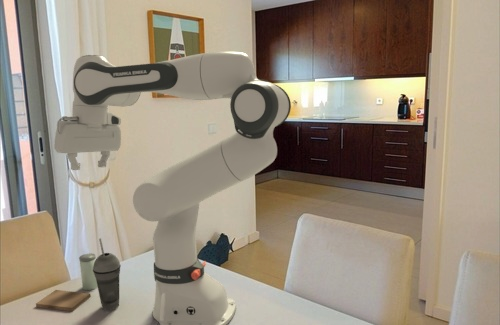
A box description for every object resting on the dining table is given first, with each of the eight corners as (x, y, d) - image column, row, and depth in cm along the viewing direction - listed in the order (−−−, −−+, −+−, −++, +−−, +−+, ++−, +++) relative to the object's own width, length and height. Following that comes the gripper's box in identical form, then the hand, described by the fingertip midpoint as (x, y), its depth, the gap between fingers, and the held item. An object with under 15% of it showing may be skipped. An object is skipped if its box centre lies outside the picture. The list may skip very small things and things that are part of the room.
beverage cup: (115, 314, 109) (108, 244, 105) (91, 312, 110) (84, 243, 107) (129, 300, 116) (122, 234, 112) (106, 298, 117) (99, 233, 114)
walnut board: (90, 296, 119) (90, 293, 119) (72, 311, 111) (72, 307, 111) (56, 292, 122) (55, 289, 122) (36, 306, 114) (35, 303, 114)
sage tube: (101, 284, 127) (98, 254, 125) (92, 291, 122) (89, 260, 120) (88, 282, 128) (85, 252, 126) (79, 289, 123) (75, 259, 122)
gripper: (67, 116, 98) (66, 172, 99) (125, 119, 116) (123, 166, 118) (48, 115, 100) (48, 170, 101) (108, 118, 119) (107, 164, 120)
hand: (89, 168), depth 110 cm, fingers open, 8 cm apart
